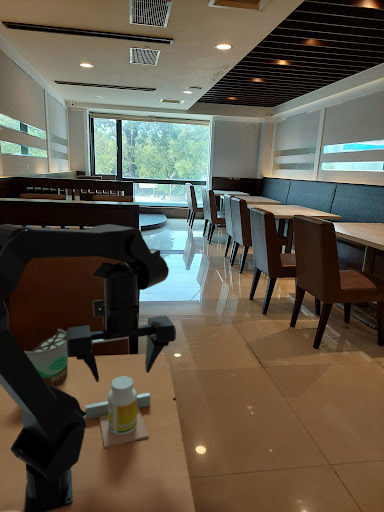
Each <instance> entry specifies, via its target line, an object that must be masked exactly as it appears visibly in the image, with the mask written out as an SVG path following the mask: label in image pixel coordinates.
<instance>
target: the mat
mask: <svg viewBox="0 0 384 512" xmlns="http://www.w3.org/2000/svg"><path fill="white" fill-rule="evenodd" d="M140 409H141V408H137V425H136V427H135V429H134V430H133V431H132V432H130V433H128V434H125V435H116V434H114V433H112V432H111V431H110V429H109V426H108V415H104V416H100V417H99V424H100V428H101V429H100V430H101V434H102V441H103V446H104V449H107V448H110V447H115V446H119V445H123V444H127V443H131V442H135V441H139V440H143V439H148V438H149V433H148V431H147V430H148V429H147V427H146V425H145V421H144V418H143V415H142V413H141V410H140Z"/></svg>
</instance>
